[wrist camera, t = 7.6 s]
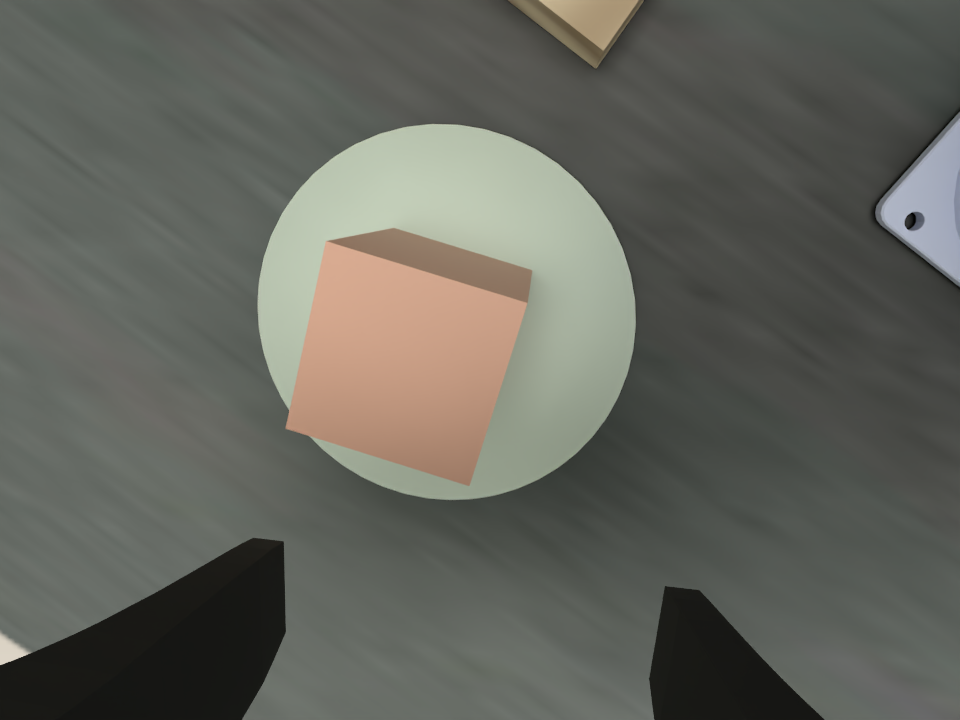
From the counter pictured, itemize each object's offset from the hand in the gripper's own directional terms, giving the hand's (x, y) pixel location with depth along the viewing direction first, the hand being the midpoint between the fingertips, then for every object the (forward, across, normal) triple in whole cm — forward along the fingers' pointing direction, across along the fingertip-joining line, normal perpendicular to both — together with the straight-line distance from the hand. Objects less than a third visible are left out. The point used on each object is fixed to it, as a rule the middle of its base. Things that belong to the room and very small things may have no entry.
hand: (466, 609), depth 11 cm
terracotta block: (+9, +2, -4) cm, 10 cm away
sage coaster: (+9, +2, -3) cm, 10 cm away
